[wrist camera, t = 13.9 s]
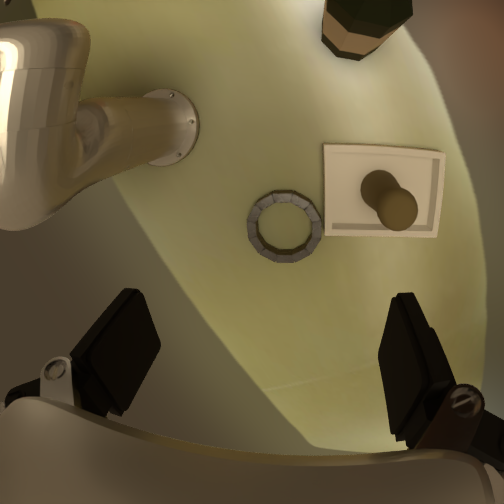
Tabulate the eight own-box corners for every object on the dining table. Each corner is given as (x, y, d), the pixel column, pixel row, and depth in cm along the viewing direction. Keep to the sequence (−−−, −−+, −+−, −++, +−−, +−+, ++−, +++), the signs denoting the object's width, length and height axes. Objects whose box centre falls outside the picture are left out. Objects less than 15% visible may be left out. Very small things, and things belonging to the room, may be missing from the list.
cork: (402, 175, 36) (431, 195, 27) (392, 213, 39) (415, 243, 29) (365, 165, 37) (384, 181, 27) (356, 204, 40) (370, 232, 30)
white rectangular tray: (323, 228, 43) (324, 235, 40) (322, 142, 37) (323, 144, 35) (429, 230, 39) (436, 237, 37) (437, 150, 34) (445, 152, 31)
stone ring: (252, 256, 47) (250, 262, 46) (246, 191, 43) (244, 194, 41) (320, 257, 45) (320, 263, 43) (320, 190, 40) (321, 193, 39)
